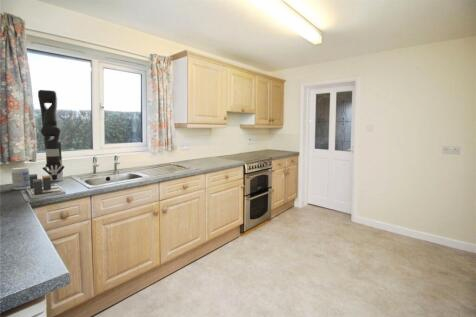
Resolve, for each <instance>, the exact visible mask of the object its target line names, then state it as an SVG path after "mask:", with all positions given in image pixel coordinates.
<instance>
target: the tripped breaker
mask: <svg viewBox="0 0 476 317" xmlns="http://www.w3.org/2000/svg"><path fill="white" fill-rule="evenodd" d="M41 177H42V178H41V179H42V186H43V189H44V190H46V189H51V185H52V183H51V182H52V181H51V180H50V175H49V174H48V175H41Z"/></svg>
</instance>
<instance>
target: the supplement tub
mask: <svg viewBox="0 0 476 317" xmlns="http://www.w3.org/2000/svg"><path fill="white" fill-rule="evenodd" d="M29 169H30V168H29V167H27V166H26V167H24V166H23V167H13V168H11V179H12V180H11V181H12V182H11V183H12V189H13V190H15V191H16V190H17V191H18V190H27V189H26V188H30V178H29V175H30V170H29Z"/></svg>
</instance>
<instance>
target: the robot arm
mask: <svg viewBox="0 0 476 317" xmlns="http://www.w3.org/2000/svg"><path fill="white" fill-rule="evenodd" d="M37 97H38V101H39V102H38V104H39V107H40V114H41V125H42V128H41V129H40V132H41V133H40V134H41V135H42V136H43V138H44V139H43V141H44V149H45V162H46V164H45V166H43V167H42V170H44V172H46V173H47V174H48V175H50V180H51V182H61V181H64V173H63V170H64V168H65V166H64V165H63V157H62V143H61V140H59V139H60V136H61V128H60V127H59V126H58V121H57V108H58V95H57V92H56V91H55V90H45V89H39V90H38V92H37ZM46 104H50V106H48V107H47V105H46ZM51 137H53V139H50V138H51Z"/></svg>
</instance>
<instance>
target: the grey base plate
mask: <svg viewBox="0 0 476 317" xmlns="http://www.w3.org/2000/svg"><path fill="white" fill-rule="evenodd" d="M29 178H30V187H29V188H26V189H25V190H26V192H27V193H28V195H29V197H30V199H36V198H42V197H43V198H44V197H52V196H58V195H65V194H66V191H65V190H64V189H63V188H62V187H61V186H60V185H59V184H55V183H54V184H51V189H46V190H44V189H43V180H42V178H38V174H37V173H33V174H32V173H31V174H30V173H29Z"/></svg>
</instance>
